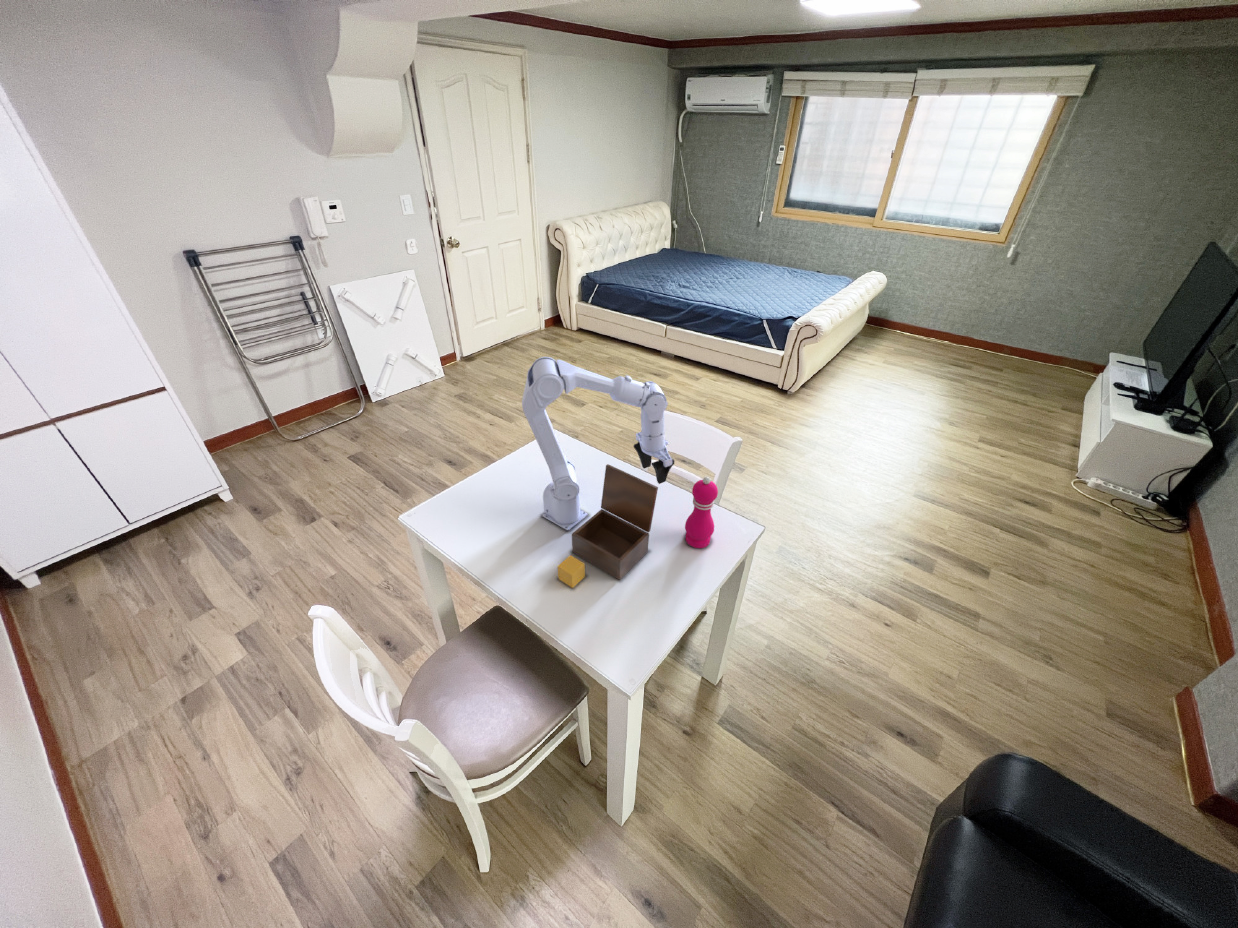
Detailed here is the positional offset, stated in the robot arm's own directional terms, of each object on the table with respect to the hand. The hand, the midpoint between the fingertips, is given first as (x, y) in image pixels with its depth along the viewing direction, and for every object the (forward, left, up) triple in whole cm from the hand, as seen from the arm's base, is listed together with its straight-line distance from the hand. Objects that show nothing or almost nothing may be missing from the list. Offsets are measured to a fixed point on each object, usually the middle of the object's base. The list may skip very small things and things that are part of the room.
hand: (653, 474), depth 128 cm
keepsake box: (+2, -21, -11) cm, 24 cm away
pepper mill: (+17, -4, -11) cm, 20 cm away
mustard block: (0, -33, -11) cm, 35 cm away
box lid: (+2, -14, +2) cm, 14 cm away
